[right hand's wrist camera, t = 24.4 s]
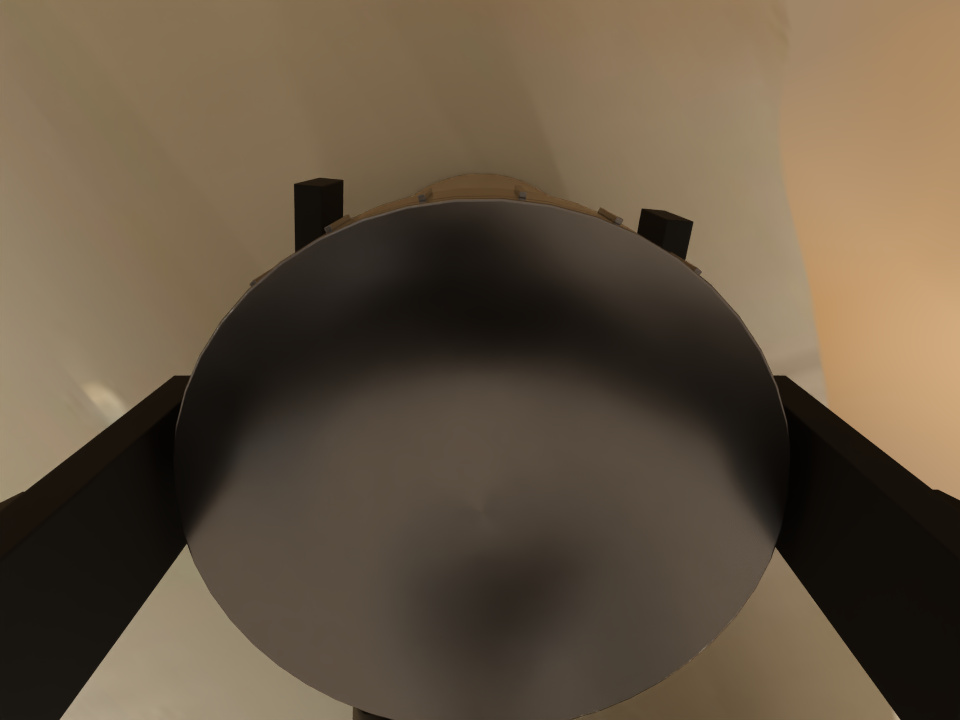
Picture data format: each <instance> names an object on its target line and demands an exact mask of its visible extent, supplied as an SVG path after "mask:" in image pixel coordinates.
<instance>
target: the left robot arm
mask: <svg viewBox="0 0 960 720" xmlns="http://www.w3.org/2000/svg"><path fill="white" fill-rule="evenodd" d="M294 208H295V252H297V251H298V250H300V249H302V248H303V247H305V246H306V245H308V244H309V243H311V242H313V241H314V240H316V239H317V238H319V237H321V236H322V235H324V234H326V231H325V229H324V228H325V227H327V226H328V225H330V224H332V223H334V222H335V221H337V220H339V219H341V218H342V217H343V180H337V179H327V178H316V179H312V180H308V181H304V182H300V183H296V184H294ZM692 226H693V222H692V221H690V220H687V219H685V218H682V217H680V216H677V215H675V214H672V213H669V212H667V211H662V210H652V209H642V210H641V215H640V221H639V226H638V232H637V233H638V234H639V235H641V236H643V237H644V238H646V239H648V240H649V241H651V242H653V243H654V244H656V245H658V246H659V247H661V248H663V249H664V250H666V251H668V252H669V253H673V254H675V255H676V256H678V257H680V258H682V259H683V260H685V259H686V254H687V249H688V245H689V240H690V235H691V231H692ZM353 720H393V719H389V718H386V717H382V716H379V715H375V714H372V713H368V712H366V711H363V710H361V709H358V708H355V707H353Z"/></svg>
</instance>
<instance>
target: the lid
mask: <svg viewBox="0 0 960 720" xmlns="http://www.w3.org/2000/svg"><path fill="white" fill-rule="evenodd" d="M622 221H623V219H621V218H619V217H617V216H616V215H614V214H612V213H610V212H609V211H607V210H605V209H603V208H601V207H600V209H599V211H598V212H596V211H594V210H592V209H589V208H587V207H585V206H582V205H580V204H578V203H574V202H570V201H567V200H563V199H559V198H556V197H552V196H548V195H544V194H541V193H535V192H527V191H525V190H524V189H523V187H522V186H521V185H515V187H514V190H511V189H503V188H458V189H451V190H444V191H437V192H433V191H432V187H429V188H425V189H424V190H423V191H422V192H421V193H420V194H418V195H415V196H411V197H408V198H404V199H401V200H397V201H394V202H390V203H387V204H384V205H380V206H378V207H376V208H374V209H372V210H369V211H367V212H365V213H363V214H360V215H358V216H356V217H354V218H350V216H349V215H346V216H344V217H342V218H341V219H339V220H337V221H335V222H334V223H332V224H330V225H328V226H327V227H325V228H324V229H325V231H326V234H324V235H322V236H321V237H319V238H317V239H316V240H314V241H313V242H311V243H309V244H308V245H306V246H305V247H303V248H302V249H300V250H298V251H297V252H295V253H294V254H292V255H290V256H289V257H287V258H286V259H284V260H283V261H281V262H280V263H279V264H277V265H276V266H275V267H274V268H272V269H271V270H269V271H267V272H266V273H264V274H263V275H261V276H259V277H258V278H256V279H255V280H253V281H252V282H251V283H250V285H251V286H252V287H251V288H249V289H248V290H247V292H246V293H245V294H244V295H243V296H242V297H241V298H240V300H239V301H238V302H237V303H236V304H235V305H234V307H233V308H232V309H231V310H230V311H229V312H228V314H227V315H226V316H225V317H224V318H223V319H222V320H221V322H220V323H219V325H218V327H217V328H216V330H215V331H214V333H213V335H212V336H211V338H210V339H209V341H208V343H207V344H206V346H205V347H204V349H203V351H202V352H201V354H200V356H199V358H198V360H197V363H196V365H195V367H194V370H193V372H192V375H191V377H190V379H189V382H188V384H187V386H186V389H185V391H184V395H183V399H182V404H181V408H180V412H179V416H178V420H177V424H176V430H175V441H174V453H173V476H174V491H175V500H176V505H177V509H178V514H179V518H180V523H181V528H182V532H183V534H184V537H185V540H186V542H187V545H188V548H189V550H190V553H191V556H192V558H193V561H194V563H195V565H196V567H197V569H198V571H199V573H200V574H201V576H202V578H203V580H204V582H205V584H206V585H207V587H208V589H209V591H210V593H211V594H212V596H213V597H214V598H215V600H216V601H217V602H218V604H219V605H220V606H221V608H222V609H223V611H224V612H225V613H226V615H227V616H228V617H229V619H230V620H231V621H232V622H233V623H234V624H235V625H236V627H237V628H238V629H239V630H240V631H241V632H242V633H243V634H244V635H245V636H246V637H247V638H248V639H249V640H250V641H251V642H252V644H253V645H255V646H256V647H257V648H258V649H259V650H261V651H262V652H263V653H264V654H265V655H267V656H268V657H269V658H270V659H271V660H272V661H274V662H275V663H276V664H277V665H278V666H280V667H281V668H283V669H284V670H286V671H287V672H289V673H290V674H292V675H293V676H295V677H296V678H298V679H299V680H301V681H302V682H304V683H305V684H307V685H309V686H311V687H313V688H315V689H316V690H318V691H320V692H322V693H324V694H326V695H328V696H330V697H332V698H334V699H336V700H338V701H340V702H343V703H345V704H348V705H350V706H353V707H355V708H358V709H361V710H363V711H366V712H368V713H372V714H375V715H379V716H382V717H386V718H389V719H393V720H571V719H574V718H578V717H581V716H584V715H588V714H591V713H594V712H598V711H601V710H603V709H605V708H608V707H610V706H613V705H615V704H618V703H620V702H622V701H625V700H627V699H630V698H632V697H634V696H635V695H637V694H639V693H641V692H643V691H645V690H647V689H648V688H650V687H652V686H654V685H656V684H658V683H660V682H661V681H663V680H664V679H666V678H667V677H668V676H670V675H671V674H673V673H674V672H676V671H677V670H679V669H680V668H682V667H683V666H684V665H686V664H687V663H689V662H690V661H691V660H692V659H693V658H694V657H696V656H697V655H698V654H699V653H700V652H701V651H703V650H704V649H705V648H706V647H707V646H708V645H709V644H711V643H712V642H713V641H714V640H715V639H716V638H717V637H718V635H719V634H720V633H721V632H722V631H723V630H724V629H725V628H726V627H727V626H728V624H729V623H730V622H731V621H732V620H733V619H734V618H735V617H736V616H737V614H738V613H739V611H740V610H741V608H742V607H743V606H744V604H745V603H746V601H747V600H748V599H749V597H750V596H751V594H752V593H753V591H754V590H755V589H756V587H757V585H758V583H759V581H760V579H761V577H762V575H763V573H764V571H765V569H766V568H767V566H768V564H769V562H770V560H771V558H772V555H773V552H774V549H775V546H776V544H777V541H778V538H779V535H780V532H781V530H782V527H783V522H784V517H785V512H786V507H787V502H788V497H789V489H790V468H791V453H790V444H789V435H788V426H787V419H786V415H785V412H784V408H783V404H782V401H781V397H780V393H779V390H778V386H777V383H776V381H775V379H774V377H773V375H772V372H771V370H770V368H769V366H768V363H767V361H766V359H765V357H764V355H763V352H762V350H761V348H760V347H759V345H758V344H757V342H756V341H755V339H754V337H753V336H752V335H751V333H750V332H749V330H748V329H747V327H746V326H745V324H744V323H743V321H742V319H741V318H740V316H739V315H738V314H737V313H736V312H735V311H734V310H733V309H732V308H731V306H730V305H729V304H728V303H727V302H726V301H725V300H724V299H723V298H722V296H721V295H720V294H719V293H718V292H717V291H716V290H715V289H714V288H713V286H712V285H711V284H709V283H708V282H707V281H706V280H704V279H703V278H702V277H701V276H700V273H701V271H700V270H699V269H698V268H697V267H695V266H693V265H692V264H690V263H688V262H687V261H685V260H683V259H682V258H680V257H678V256H676V255H675V254H673V253H669V252H668V251H666V250H664V249H663V248H661V247H659V246H658V245H656V244H654V243H653V242H651V241H649V240H648V239H646V238H644V237H643V236H641V235H639V234H638V233H636V232H634V231H633V230H631V229H629V228H628V227H626V226H624V225H623V224H621V223H622Z"/></svg>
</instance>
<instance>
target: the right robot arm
mask: <svg viewBox="0 0 960 720" xmlns="http://www.w3.org/2000/svg"><path fill="white" fill-rule="evenodd" d="M190 377H191V376H173V377H172V378H171V379H169V380H168V381H167V382H166V383H164V384H163V385H162V386H160V387H159V388H158V389H157V390H155V391H154V392H153V393H151V394H150V395H149V396H148V397H146V398H145V399H144V400H142V401H141V402H140V403H139V404H137V405H136V406H135V407H133V408H132V409H131V410H130V411H128V412H127V413H126V414H124V415H123V416H122V417H121V418H119V419H118V420H117V421H115V422H114V423H113V424H111V425H110V426H109V427H108V428H106V429H105V430H104V431H102V432H101V433H100V434H99V435H97V436H96V437H95V438H93V439H92V440H91V441H90V442H88V443H87V444H86V445H84V446H83V447H82V448H81V449H79V450H78V451H77V452H75V453H74V454H73V455H72V456H70V457H69V458H68V459H66V460H65V461H64V462H63V463H61V464H60V465H59V466H57V467H56V468H55V469H53V470H52V471H51V472H50V473H48V474H47V475H46V476H44V477H43V478H42V479H41V480H39V481H38V482H37V483H35V484H34V485H33V486H32V487H30V488H29V489H28V490H26V491H25V492H21V493H19V494H17V495H15V496H13V497H11V498H9V499H7V500H5V501H3V502H1V503H0V720H60V718H61V717H62V716H63V714H64V713H65V711H66V710H67V709H68V707H69V706H70V705H71V703H72V702H73V700H74V699H75V698H76V696H77V695H78V693H79V692H80V691H81V689H82V688H83V687H84V685H85V684H86V682H87V681H88V680H89V678H90V677H91V675H92V674H93V673H94V671H95V670H96V669H97V667H98V666H99V664H100V663H101V662H102V660H103V659H104V658H105V656H106V655H107V653H108V652H109V651H110V649H111V648H112V646H113V645H114V644H115V642H116V641H117V640H118V638H119V637H120V635H121V634H122V633H123V631H124V630H125V628H126V627H127V626H128V624H129V623H130V622H131V620H132V619H133V617H134V616H135V615H136V613H137V612H138V611H139V609H140V608H141V606H142V605H143V604H144V602H145V601H146V599H147V598H148V597H149V595H150V594H151V593H152V591H153V590H154V588H155V587H156V586H157V584H158V583H159V582H160V580H161V579H162V577H163V576H164V575H165V573H166V572H167V570H168V569H169V568H170V566H171V565H172V564H173V562H174V561H175V559H176V558H177V557H178V555H179V554H180V552H181V551H182V550H183V548H184V547H185V546H186V544H187V542H186V540H185V537H184V534H183V532H182V528H181V523H180V518H179V514H178V509H177V505H176V500H175V491H174V476H173V453H174V441H175V430H176V424H177V420H178V416H179V412H180V408H181V404H182V399H183V395H184V391H185V389H186V386H187V384H188V382H189V379H190ZM773 377H774V379H775V381H776V383H777V386H778V390H779V393H780V397H781V401H782V404H783V408H784V412H785V415H786V419H787V426H788V435H789V444H790V453H791V468H790V489H789V497H788V502H787V507H786V512H785V517H784V522H783V527H782V530H781V532H780V535H779V538H778V541H777V544H776V546H775V547H776V548H777V550H778V551H779V552H780V554H781V555H782V557H783V558H784V559H785V561H786V562H787V564H788V565H789V566H790V568H791V569H792V570H793V572H794V573H795V575H796V576H797V577H798V579H799V580H800V582H801V583H802V584H803V586H804V587H805V588H806V590H807V591H808V593H809V594H810V595H811V597H812V598H813V599H814V601H815V602H816V604H817V605H818V606H819V608H820V609H821V611H822V612H823V613H824V615H825V616H826V617H827V619H828V620H829V622H830V623H831V624H832V626H833V627H834V628H835V630H836V631H837V633H838V634H839V635H840V637H841V638H842V640H843V641H844V642H845V644H846V645H847V646H848V648H849V649H850V651H851V652H852V653H853V655H854V656H855V658H856V659H857V660H858V662H859V663H860V664H861V666H862V667H863V669H864V670H865V671H866V673H867V674H868V675H869V677H870V678H871V680H872V681H873V682H874V684H875V685H876V687H877V688H878V689H879V691H880V692H881V693H882V695H883V696H884V698H885V699H886V700H887V702H888V703H889V705H890V706H891V707H892V709H893V710H894V711H895V713H896V714H897V716H898V717H899V718H900V720H960V500H958V499H956V498H954V497H952V496H950V495H948V494H946V493H944V492H942V491H940V490H932V489H931V488H930V487H928V486H927V485H926V484H925V483H923V482H922V481H921V480H919V479H918V478H917V477H916V476H914V475H913V474H912V473H910V472H909V471H908V470H907V469H905V468H904V467H903V466H901V465H900V464H899V463H897V462H896V461H895V460H894V459H892V458H891V457H890V456H888V455H887V454H886V453H885V452H883V451H882V450H881V449H879V448H878V447H877V446H875V445H874V444H873V443H872V442H870V441H869V440H868V439H867V438H865V437H864V436H863V435H861V434H860V433H859V432H858V431H856V430H855V429H854V428H852V427H851V426H850V425H849V424H847V423H846V422H845V421H843V420H842V419H841V418H839V417H838V416H837V415H836V414H834V413H833V412H832V411H830V410H829V409H828V408H827V407H825V406H824V405H823V404H821V403H820V402H819V401H818V400H816V399H815V398H814V397H812V396H811V395H810V394H809V393H807V392H806V391H805V390H803V389H802V388H801V387H800V386H798V385H797V384H796V383H794V382H793V381H792V380H791V379H789V378H788V377H787V376H773Z"/></svg>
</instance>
